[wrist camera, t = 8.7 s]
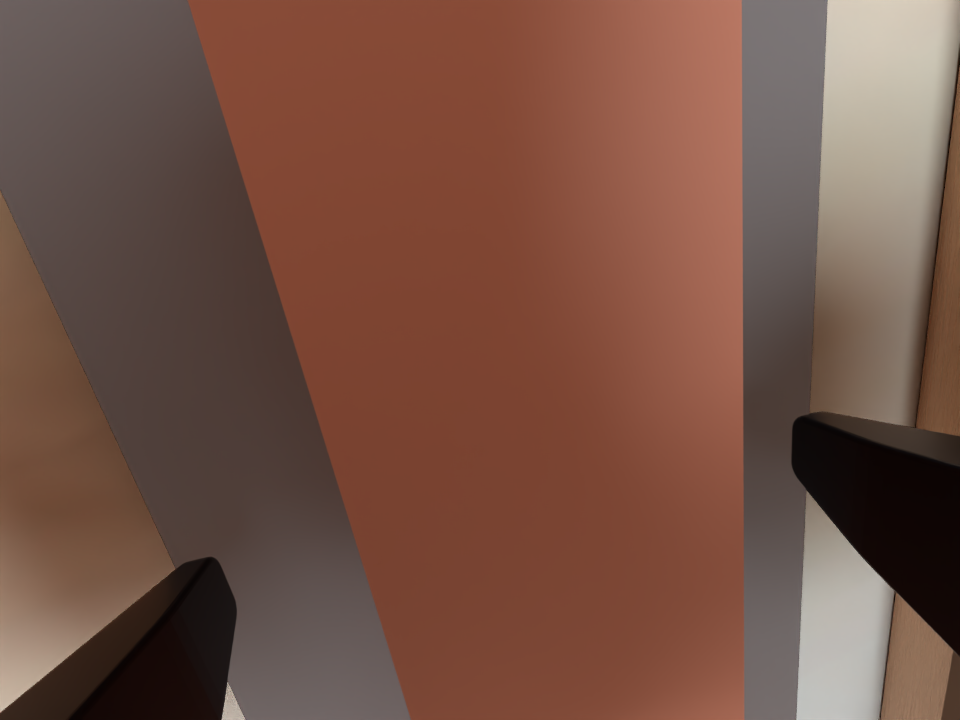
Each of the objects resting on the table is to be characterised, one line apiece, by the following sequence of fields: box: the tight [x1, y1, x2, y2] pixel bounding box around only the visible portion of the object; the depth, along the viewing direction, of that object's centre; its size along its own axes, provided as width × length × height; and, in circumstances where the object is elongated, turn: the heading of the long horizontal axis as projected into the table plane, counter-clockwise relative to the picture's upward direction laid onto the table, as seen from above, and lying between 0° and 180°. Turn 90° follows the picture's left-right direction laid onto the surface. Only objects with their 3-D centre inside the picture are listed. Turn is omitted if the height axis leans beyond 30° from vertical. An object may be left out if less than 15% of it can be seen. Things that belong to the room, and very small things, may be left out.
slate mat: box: [0, 0, 827, 720], centre depth 10 cm, size 30×12×1 cm, turn 10°
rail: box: [188, 0, 744, 720], centre depth 8 cm, size 26×4×4 cm, turn 10°
